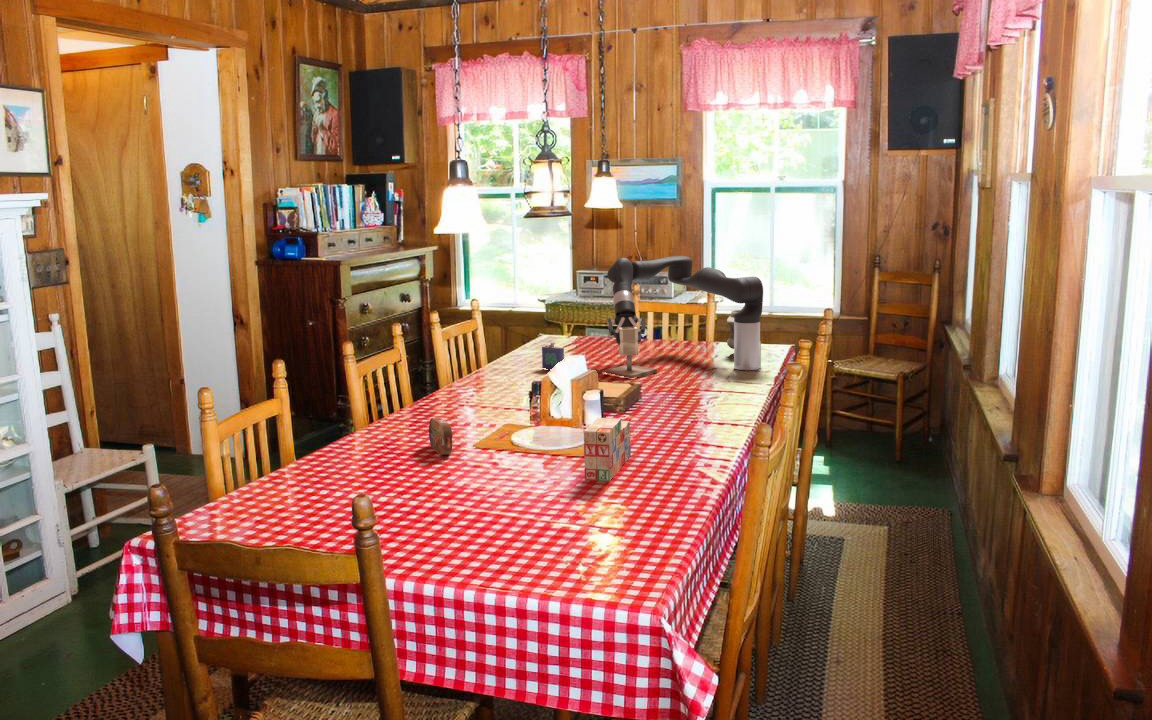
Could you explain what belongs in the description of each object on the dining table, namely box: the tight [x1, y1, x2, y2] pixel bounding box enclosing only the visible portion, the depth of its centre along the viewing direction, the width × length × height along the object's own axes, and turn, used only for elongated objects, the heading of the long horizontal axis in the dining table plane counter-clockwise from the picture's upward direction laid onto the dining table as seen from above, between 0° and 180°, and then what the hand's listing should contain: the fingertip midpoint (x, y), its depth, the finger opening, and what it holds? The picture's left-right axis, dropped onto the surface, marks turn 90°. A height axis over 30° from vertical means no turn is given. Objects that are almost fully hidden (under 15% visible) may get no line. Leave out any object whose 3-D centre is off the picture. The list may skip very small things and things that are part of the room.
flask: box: [541, 341, 565, 370], centre depth 346 cm, size 9×3×11 cm, turn 61°
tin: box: [428, 417, 453, 456], centre depth 247 cm, size 15×3×8 cm, turn 23°
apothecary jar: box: [726, 309, 741, 358], centre depth 362 cm, size 12×12×18 cm
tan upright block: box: [618, 327, 639, 357], centre depth 335 cm, size 5×6×10 cm
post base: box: [601, 355, 658, 378], centre depth 336 cm, size 14×14×10 cm
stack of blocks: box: [583, 417, 632, 482], centre depth 228 cm, size 21×6×12 cm, turn 164°
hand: (628, 343), depth 334 cm, fingers closed on tan upright block, 6 cm apart
